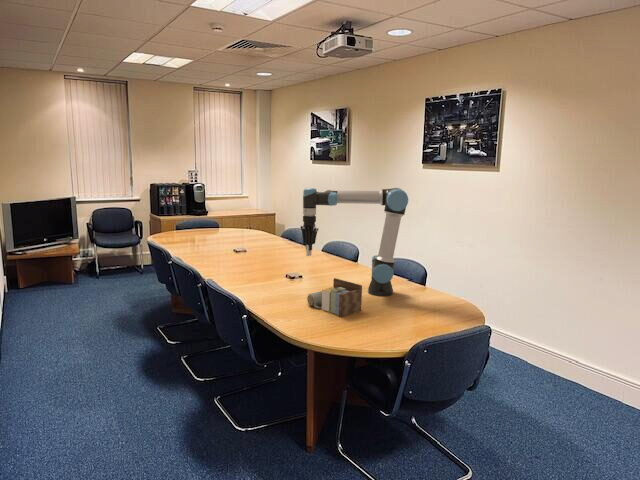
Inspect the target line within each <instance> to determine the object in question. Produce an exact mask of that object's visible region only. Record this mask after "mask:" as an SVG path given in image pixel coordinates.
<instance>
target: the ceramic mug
mask: <svg viewBox="0 0 640 480" xmlns="http://www.w3.org/2000/svg"><path fill="white" fill-rule="evenodd" d="M307 304H308V305H309V306H310V307H312V308H313V307H314V308H316V309H317V310H322V290H320V291H317V292H313V293H312V292H311V293H309V294H308V295H307Z"/></svg>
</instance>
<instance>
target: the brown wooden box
mask: <svg viewBox="0 0 640 480" xmlns="http://www.w3.org/2000/svg"><path fill="white" fill-rule="evenodd" d="M332 280H333V282H332V283H333V284H332V285H333V288H335V289H331V304H330V312H329V313H331V314H334V315H337V316H338V318H344V317H345V316H349V315H353V314H356V313H359V312H361V311H362V301H363V299H362V297H363V296H362V295H363V285H362V284H358V283H355V282H351V281H347V280H343V279H340V278H336V277H335V278H333V279H332Z"/></svg>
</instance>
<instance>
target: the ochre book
mask: <svg viewBox="0 0 640 480" xmlns="http://www.w3.org/2000/svg"><path fill="white" fill-rule="evenodd" d="M331 289H335V288H333V287H332V286H331V287H327V288H324V289H321V291H322V305H321V307H322V309H321V310H322V311H324V312H327V313H331V312H330V304H331Z"/></svg>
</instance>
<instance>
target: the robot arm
mask: <svg viewBox="0 0 640 480" xmlns="http://www.w3.org/2000/svg"><path fill="white" fill-rule="evenodd" d="M302 191H303V194H302V215H303V216H302V222H303V225H300V229H301V235H302V237H301V238H302V242H303V243H304V244H305V250H306V251H305V254H306V257H311V256H312V254H313V253H312V252H313V245H315V244H316V240H317V236H318V232H319V227H318V228H317V227H316V222H317V216H316V215H317V206H331V207H332V206H333V207H334V206H337V205H338V204H364V205H365V204H366V205H368V204H370V205H371V204H372V205H373V204H375V205H377V204H378V205H381V206H384V209H383V211H384V213H385V217H384V218H385V219H384V225H383V228H382V232H381V233H382V235H381V238H380V244H379V250H378V255H373V256H372V259H371V281H370V283H369V285H368V288H367V293H368V294H370V295H372V296H376V297H377V296H379V297H386V296H392V295H393V294H394V288H393V284H392V279H393V278H394V268H395V263H396V260H395V259H394V256H395V255H394V254H395V249H396V245H397V239H398V234H399V231H400V230H399V229H400V224H401V220H402V217H403V216H404V215H405V213H406V210H407V206H408V204H409V196H408V193H406V191H405V190H403V189H402V188H400V187H393V188H381V189H380V190H331V189H328V190H325V191H323V192H321V191H317V188H315V187H313V188H312V187H305V188H304V189H303V190H302Z"/></svg>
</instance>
